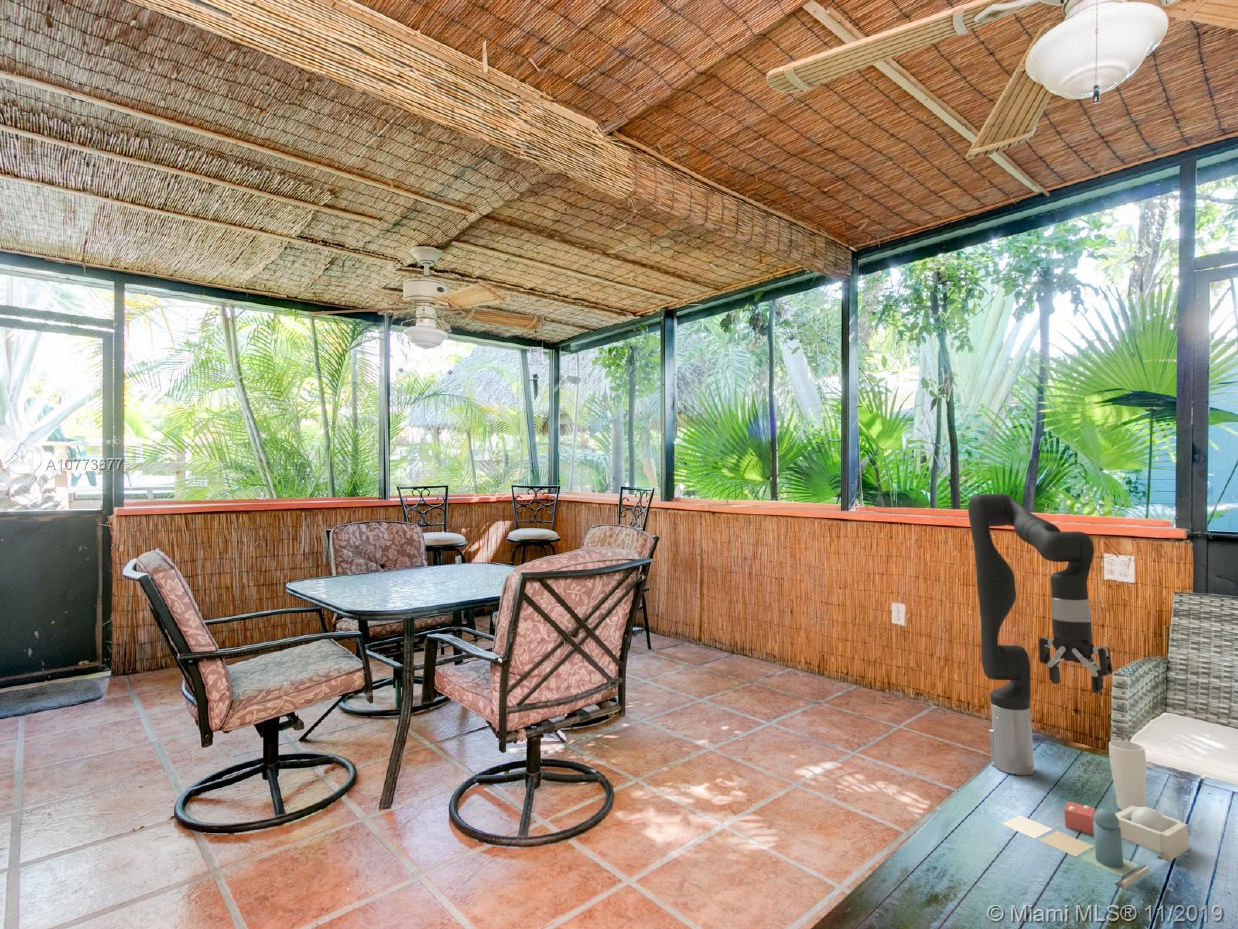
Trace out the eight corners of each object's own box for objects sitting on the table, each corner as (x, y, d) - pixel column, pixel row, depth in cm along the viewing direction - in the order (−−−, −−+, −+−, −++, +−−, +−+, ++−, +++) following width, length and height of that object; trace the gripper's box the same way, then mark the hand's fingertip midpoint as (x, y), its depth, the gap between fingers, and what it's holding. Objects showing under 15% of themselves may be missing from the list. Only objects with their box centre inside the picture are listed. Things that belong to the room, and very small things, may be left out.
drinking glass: (1136, 803, 152) (1131, 740, 153) (1157, 817, 145) (1152, 751, 146) (1106, 803, 152) (1101, 739, 153) (1125, 817, 146) (1121, 751, 147)
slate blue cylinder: (1091, 859, 128) (1087, 808, 128) (1102, 853, 130) (1098, 802, 130) (1116, 870, 124) (1112, 817, 124) (1127, 864, 126) (1123, 811, 126)
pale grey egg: (1127, 839, 136) (1124, 806, 136) (1140, 831, 139) (1138, 799, 139) (1161, 853, 131) (1158, 818, 131) (1174, 844, 134) (1172, 810, 134)
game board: (993, 829, 142) (993, 823, 142) (1019, 817, 147) (1019, 812, 147) (1123, 888, 120) (1123, 881, 120) (1149, 872, 125) (1148, 865, 125)
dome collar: (1112, 840, 137) (1110, 816, 137) (1135, 827, 141) (1133, 804, 142) (1168, 862, 128) (1166, 837, 128) (1190, 848, 133) (1188, 823, 133)
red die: (1066, 833, 140) (1064, 807, 140) (1069, 824, 144) (1067, 798, 144) (1094, 840, 137) (1092, 814, 137) (1096, 831, 140) (1094, 805, 141)
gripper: (1030, 614, 152) (1034, 683, 151) (1097, 624, 139) (1102, 699, 138) (1047, 611, 155) (1052, 678, 154) (1114, 620, 143) (1120, 693, 142)
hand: (1076, 687), depth 146 cm, fingers open, 8 cm apart
